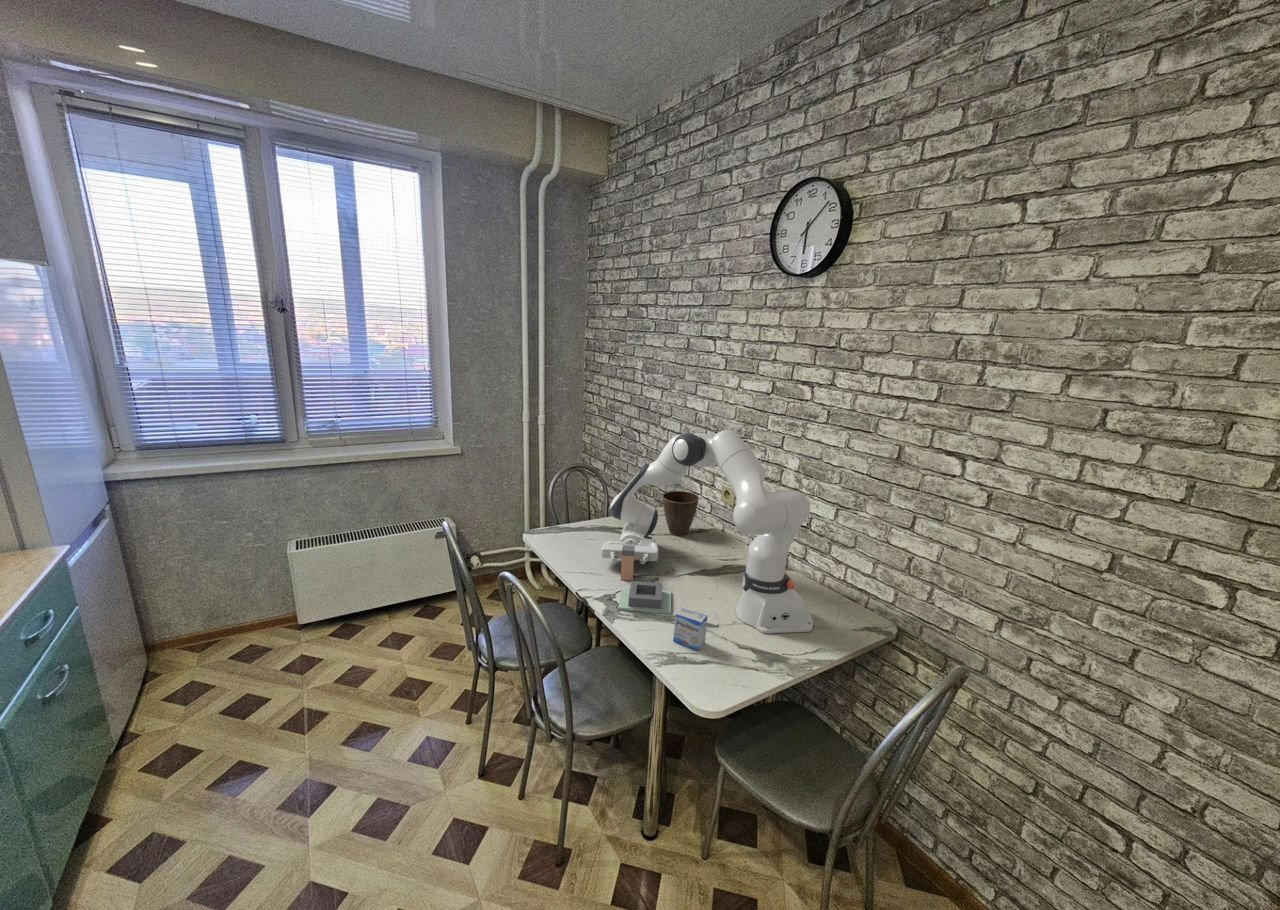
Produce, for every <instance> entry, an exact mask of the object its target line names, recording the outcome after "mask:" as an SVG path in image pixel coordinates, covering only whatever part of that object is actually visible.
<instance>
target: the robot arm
mask: <svg viewBox="0 0 1280 910" xmlns="http://www.w3.org/2000/svg"><path fill="white" fill-rule="evenodd" d="M691 466H692V467H701V468H710V467H718V468H719V470H720V471H721V472H722V474H723V476H724V477H725V478H726V480H727V482H728V484H729V485H730V487H731V488H732V490H733V493H734V497H735V502H736V504H735V507H734V509H733V511H732V512H733V514H732V519H733V523H734V525H735V527H736V528H737V530H738V531H739V532H740V533H741V534H743V535H745V536H755V537H754V539H753V540H752V541H751V542H750V543H749V546H748V549H747V557H746V558H747V559H746V565H745V566H746V567H745V568H744V571H743V576H742V590H741V595H740V599H739V601H738V604H737V606H736V608H735V614H736V616H737V618H739V619H740V621H742V622H743V623H745V624H747V625H748V626H751V627H753V628H755V629H757V630H758V631H759V632H761V633H763V634H783V633H785V634H787V633H806V632H807V633H809V632H811V631H812V630H813V628H814V622H813V618H812V615H811V614H810V612H809V611H808V609H807V608H806V604H805V601H804V599H803V597H802V596H801V594H800V593H799V592H797V591H796V590H795V588H796V587H795V583H794V581H792V580H791V578H790V576H789V575H788V574H787V572H786V564H787V559H788V553H789V550H790V548H791V545H792V542H793V541H794V538H795V537H796V535H797V533H798V531H799V529H800V528H801V526H802V524H804V522H805V521H806V520H807V519H808V517H809V515H810V512H811V505H810V501H809V500H808V497H807V496H806V495H805V494H803V493H802V492H801V491H798V490H792V489H791V490H789V489H788V490H787V489H784V490H779V491H774V492H769V491H767V489H766V487H765V485H764V481H765V479H766V474H767V473H766V469H765V467H764V466H763V464H762V463H761V462H760V460H759V459H758V458H757V457H756V455H755V454H754V452H753V451H752V450H751V448H750V446H748V445H747V443H745V441H744V440H743V439H742V438H741V437H740V436H739V435H737V433H735V432H734V431H732V430H728V429H727V430H722V431H719V432H717V433H715V434H709V433H702V432H696V433H683V434H676V435H674V436H673V437H671V438H670V440H668V442H667V443H666V444H665V445H664V447H663V449H662V450H661V452H660V454H659V455H658V458H656V459H655V460H654V461H653V462H650V463H645V464H643V465H642V466H641V467H640V468H639V469H638V470H637V471H636V472H635V474H634V475H633V476H632V477H631V479H630V480H629V481H628V482H627V483H626V485H625V486H623V487H624V488H623V489H621V490H620V491H619V493H618V494H617V495H615V497H613V499H612V501H611V503H610V506H609V512H610V514H611V516H612V518H614V519H616V520H619V521H622V522H625V525H624V526H623V528H622V531H621V536H620V537H619V538H620V539H619V541H617V540H616V541H615V540H606V541H605V542H603V543H602V545H601V548H600V557H602V559H603V558H604V559H610V560H611V561H612V563H617V562H618V560H622V548H623V545H630V546H635V551H634V561H639V565H643V566H644V565H645V563H646V562H658V561H659V545H658V544H657V543H656V538H655V537H652V536H651V534H652V533H653V532H654V531H655V529H656V526H657V523H658V519H659V514H658V510H657V508H656V507H654V506H652V505H650V504H648V503H646V502H643V501H641V500H639V499H637V498H635V497H633V496H634V495H635V493H636V492H637V491H638V489H640V487H642V486H644V485H653V486H654V485H656V486H663V487H669V486H670V487H671V486H674V485H676V484H678V483H679V482H680V481H681V480H682V479H683V477H685V474H686V473H687V471H688V469H689V467H691Z"/></svg>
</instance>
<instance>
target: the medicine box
mask: <svg viewBox="0 0 1280 910" xmlns="http://www.w3.org/2000/svg"><path fill="white" fill-rule="evenodd" d="M707 623H708V615H705V614H703V613H700V612H697V611H694V610H691V609H688V608H684V607H682V606H681V607H680V608H679V609H678V610H677V612H676V613H675V616H674V628H673V636H672V637H673V638H672V641H673V642H674V643H676V644H679V645H682V646H685V647H688V648H691V649H693V650H696V651H700V650H701V649H702V647H703V646H704V644H705V643H706V635H707V634H706V633H707V627H708V626H707Z"/></svg>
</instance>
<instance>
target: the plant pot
mask: <svg viewBox="0 0 1280 910" xmlns="http://www.w3.org/2000/svg"><path fill="white" fill-rule="evenodd" d="M662 504H663V505H662V506H663V512H664V516H665V521H666V524H667V528H668V531H669V533H670V534H671V535H673V536H677V537H683V536H686V535H688V532H689V531H690V529H691V526H692V524H693V521H694V518H695V516H696V511H697V509H698V504H699V496H698V495H697V494H695V493H693V492H688V491H684V490H683V491H682V490H674V491H672V490H671V491H668V492H664V493H663V494H662Z"/></svg>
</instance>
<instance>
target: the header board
mask: <svg viewBox="0 0 1280 910" xmlns="http://www.w3.org/2000/svg"><path fill="white" fill-rule="evenodd" d="M617 609H618V610H619V611H629V612H630V611H631V612H641V613H642V612H643V613H655V614H657V613H658V614H667V615H668V614H669V615H670V614H672V590H666V589H663V583H661V582H650V581H637V580H636V581H635V580H632V581H630V587H624V586H622V587H621V591H620V596H619V600H618V605H617Z"/></svg>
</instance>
